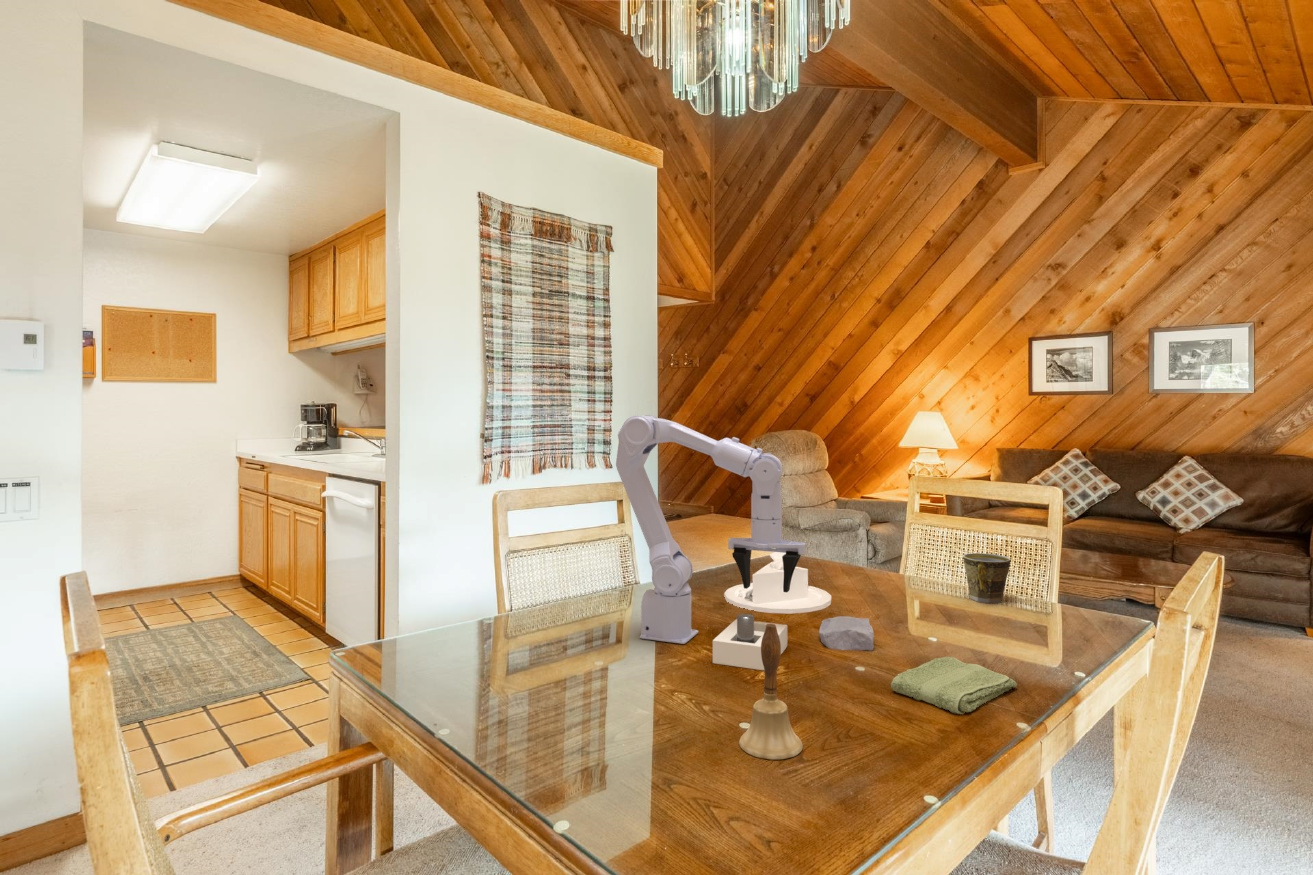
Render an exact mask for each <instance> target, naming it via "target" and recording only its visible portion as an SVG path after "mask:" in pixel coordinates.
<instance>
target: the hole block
mask: <svg viewBox="0 0 1313 875" xmlns="http://www.w3.org/2000/svg"><path fill="white" fill-rule="evenodd" d="M767 624H775V625H776V629H777V633H778V635H779V639H780V644H781V655H782V654H783V653H784V652H785V650H786V648H787V647H788V625H787V624H782V623H781V624H780V623H773V622H765V621H764V622H763V621H755V620H754V643H747V642H739V641H737V618H736V619H735V620H733V621H732V622H731V623H730V624H729V625H728V626H727V627H725V629H723V630H722V631H721V632H720V633H719V634H718V635H717V636H716V637H714V639H712V664H716V665H723V666H724V665H725V666H731V667H737V668H745V669H751V670H757V671H758V670H759V671H764V672H765V670H764V666H763V662H762V657H761V642H762V638H763V635H764V632H765V629H766V625H767Z"/></svg>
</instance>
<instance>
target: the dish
mask: <svg viewBox="0 0 1313 875" xmlns="http://www.w3.org/2000/svg"><path fill="white" fill-rule="evenodd" d="M784 554H786V553H783V552H772V553H770V554H769V558H771V559H772V560H773V561H771V562H769V563H768V564H766V565H765V566H763V567H761V568H760V569H759V570H757V571H756V572H754V573H753V574H752V582H750V587H749V588H747V589H746V588H744V586H743V583H742V584H736V585H734V586H732V587H731V586H730V587H729V588H727V589H726V590H725V591H724V592H723V596H724V597H725V598H724V599H725V601H726V602H727V603H728V602H729V603H728V604H730V605H732V604H733V606H734V607H736V606H737V607H736V608H739V607H740V608H739V609H743V608H745V609H744V610H747V609H748V611H751V610H754V611H753V612H759V613H760V612H761V613H767V614H800V613H801V614H802V613H810V612H816V611H821V610H824V609H825V608H827V607H829V606H831V604H832V595H831V594H830V593H829V592H827V590H825V589H821V588H819V587H817V586H816V587H815V586H812V585H809V569H808V568H805V567H800V566H796V567H795V570H794V572H793V575H792V579H791V583H790V590H789V591H788V592H783V581H784V569H783V559H782V556H783V555H784Z"/></svg>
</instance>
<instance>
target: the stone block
mask: <svg viewBox="0 0 1313 875" xmlns="http://www.w3.org/2000/svg"><path fill="white" fill-rule="evenodd" d="M818 630H819V631H818V633H819V634H818V635H819V637H820V641H821V644H823V645H824V646H825V647H826V648H828V649H831V650H838V651H861V652H862V651H867V652H869V651H870V652H871V651H872V652H873V651H874V649H875V646H874V642H875V641H874V639H875V635H874V629H873V626H872V625H871V624H870V618H869V617H868V618H860V617H852V616H845V615H844V616H834V617H828V618H825V619H823V620H822V621H821V624H820V627H819V629H818Z"/></svg>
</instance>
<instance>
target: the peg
mask: <svg viewBox="0 0 1313 875" xmlns="http://www.w3.org/2000/svg"><path fill="white" fill-rule="evenodd" d="M736 619H737V641H739V642H747V643H754V621H755V615H753V614H751V613H739V614H736Z"/></svg>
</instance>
